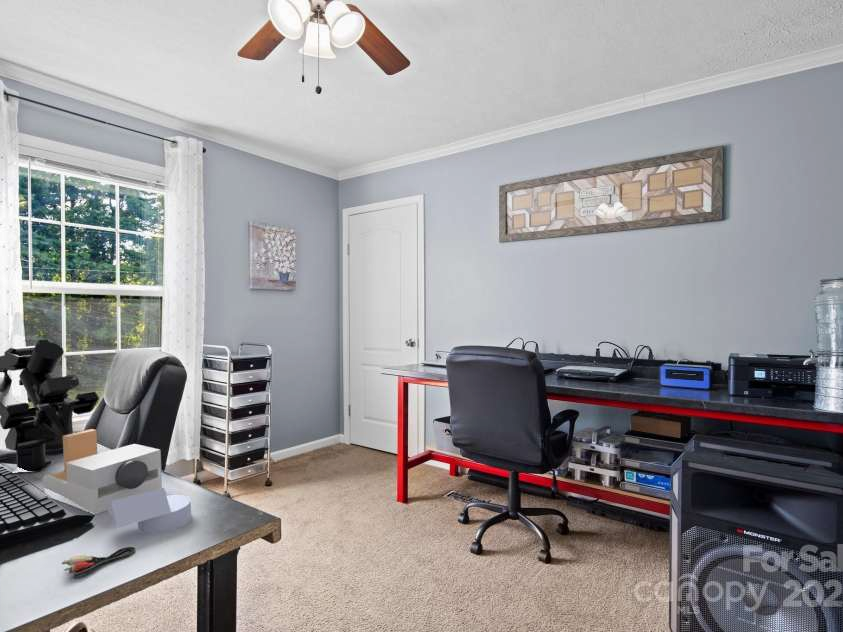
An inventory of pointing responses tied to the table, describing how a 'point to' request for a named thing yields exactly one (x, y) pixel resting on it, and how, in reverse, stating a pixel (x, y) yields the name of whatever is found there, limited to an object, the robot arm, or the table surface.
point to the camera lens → (58, 440)
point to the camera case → (109, 477)
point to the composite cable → (94, 562)
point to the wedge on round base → (151, 511)
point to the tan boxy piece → (77, 448)
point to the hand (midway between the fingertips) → (66, 436)
